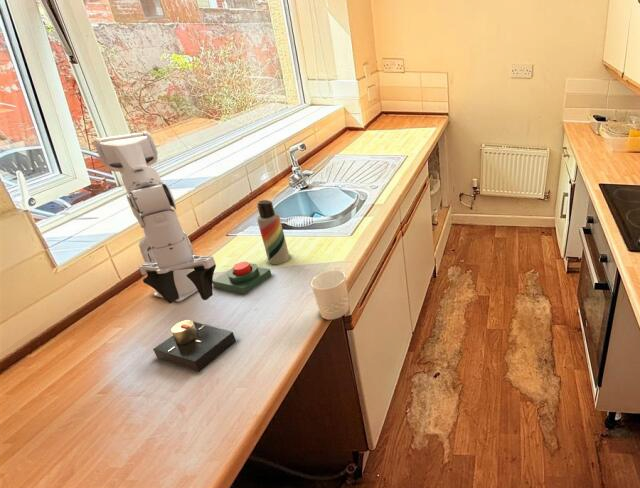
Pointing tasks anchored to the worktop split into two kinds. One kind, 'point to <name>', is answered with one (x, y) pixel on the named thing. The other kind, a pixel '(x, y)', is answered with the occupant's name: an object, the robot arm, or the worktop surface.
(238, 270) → the button
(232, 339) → the dial panel
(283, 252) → the lotion bottle
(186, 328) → the dial
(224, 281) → the button block
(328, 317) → the white cup
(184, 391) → the worktop surface
